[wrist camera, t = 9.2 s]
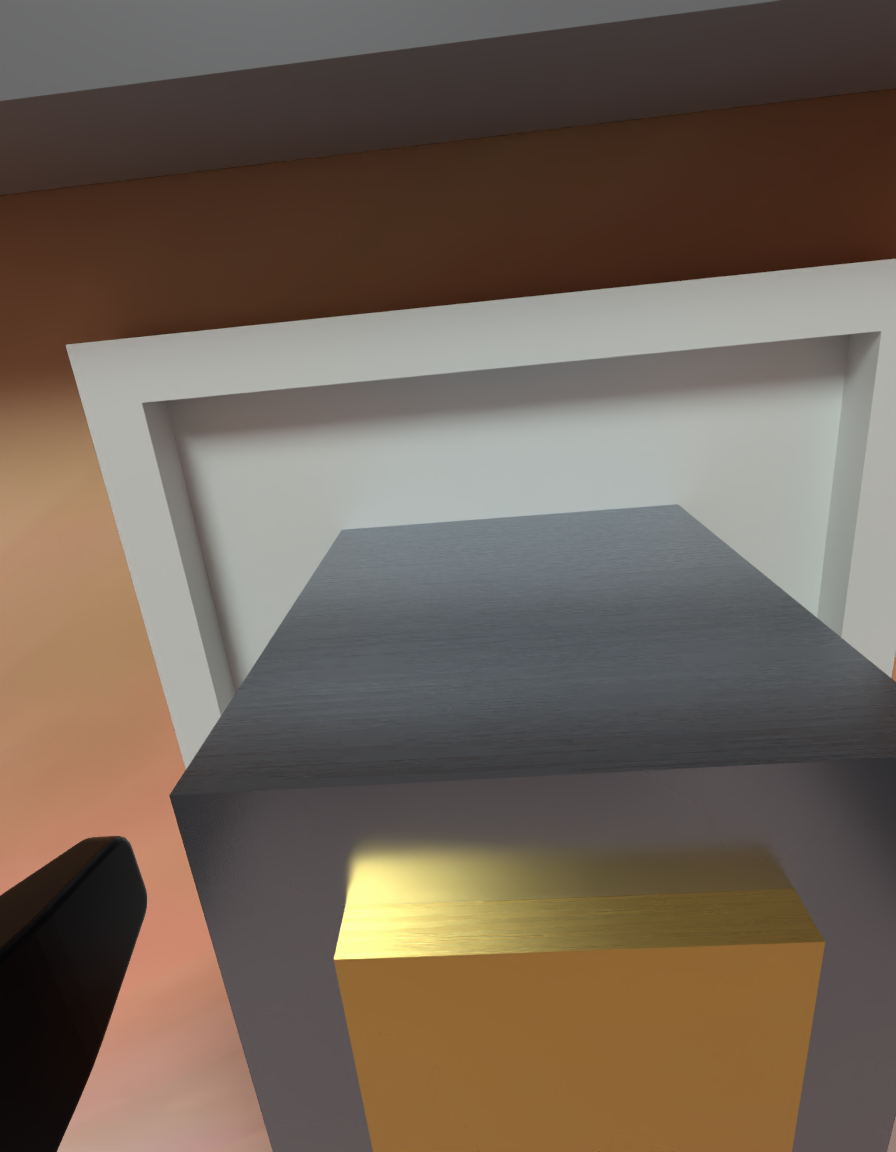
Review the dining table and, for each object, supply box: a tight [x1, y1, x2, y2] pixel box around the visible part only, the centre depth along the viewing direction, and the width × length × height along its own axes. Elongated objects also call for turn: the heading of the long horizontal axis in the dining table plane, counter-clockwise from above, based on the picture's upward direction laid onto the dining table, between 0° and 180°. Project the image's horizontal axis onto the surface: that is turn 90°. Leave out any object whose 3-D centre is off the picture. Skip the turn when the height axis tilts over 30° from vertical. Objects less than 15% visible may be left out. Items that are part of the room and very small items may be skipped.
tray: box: [66, 259, 896, 769], centre depth 10 cm, size 11×11×1 cm
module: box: [169, 504, 896, 1152], centre depth 7 cm, size 5×5×6 cm
